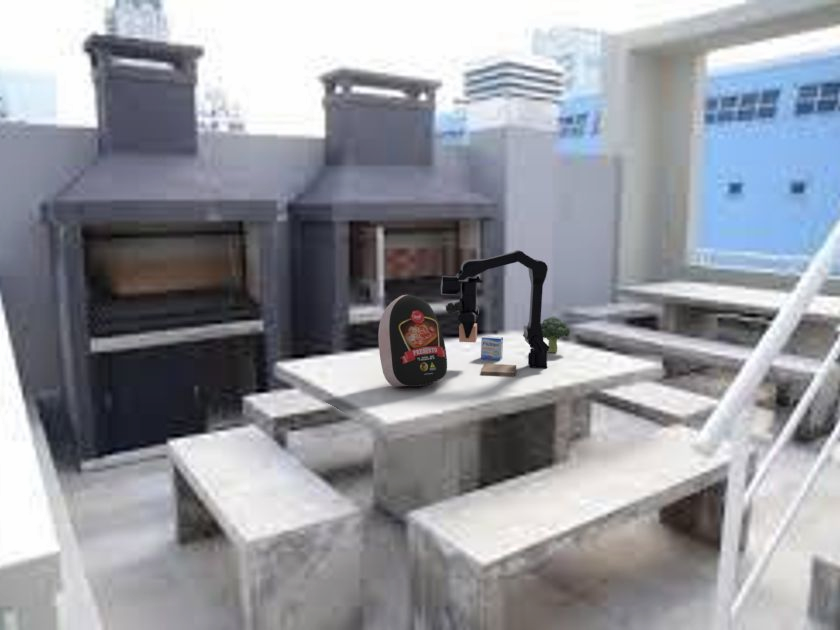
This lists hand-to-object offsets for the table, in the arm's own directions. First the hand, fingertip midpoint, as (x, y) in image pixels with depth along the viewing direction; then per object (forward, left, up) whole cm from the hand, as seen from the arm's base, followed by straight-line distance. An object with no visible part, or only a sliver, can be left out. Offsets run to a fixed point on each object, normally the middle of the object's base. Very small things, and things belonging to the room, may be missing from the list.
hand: (468, 336), depth 253 cm
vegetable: (-32, -31, -12) cm, 46 cm away
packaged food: (+16, +29, -12) cm, 35 cm away
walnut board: (-12, +5, -12) cm, 17 cm away
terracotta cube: (0, 0, -2) cm, 2 cm away
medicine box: (-8, -15, -12) cm, 21 cm away
